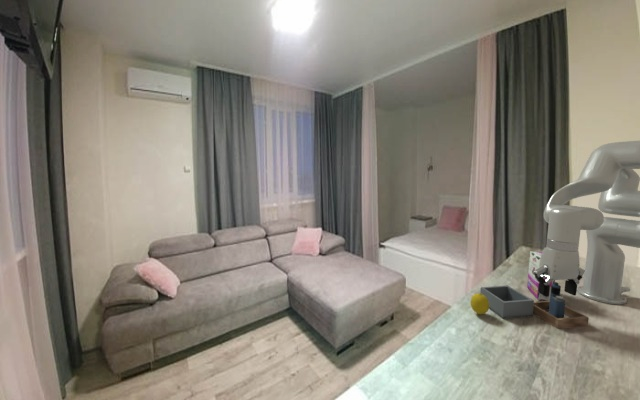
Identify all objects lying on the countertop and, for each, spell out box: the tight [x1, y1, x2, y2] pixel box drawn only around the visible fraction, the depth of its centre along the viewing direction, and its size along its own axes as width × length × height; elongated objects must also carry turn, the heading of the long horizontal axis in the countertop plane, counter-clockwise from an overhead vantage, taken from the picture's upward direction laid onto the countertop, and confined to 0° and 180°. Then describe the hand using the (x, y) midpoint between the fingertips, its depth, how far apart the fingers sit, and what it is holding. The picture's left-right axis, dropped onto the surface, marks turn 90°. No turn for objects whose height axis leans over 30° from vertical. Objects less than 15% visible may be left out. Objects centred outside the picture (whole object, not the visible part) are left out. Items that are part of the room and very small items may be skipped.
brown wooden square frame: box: [533, 300, 590, 330], centre depth 83 cm, size 11×11×3 cm
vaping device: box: [548, 281, 566, 318], centre depth 83 cm, size 3×5×12 cm, turn 161°
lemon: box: [470, 293, 490, 316], centre depth 86 cm, size 6×6×8 cm
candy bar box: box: [526, 250, 556, 301], centre depth 97 cm, size 11×5×16 cm, turn 156°
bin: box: [479, 284, 535, 320], centre depth 89 cm, size 11×11×6 cm
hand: (556, 294), depth 82 cm, fingers open, 9 cm apart
